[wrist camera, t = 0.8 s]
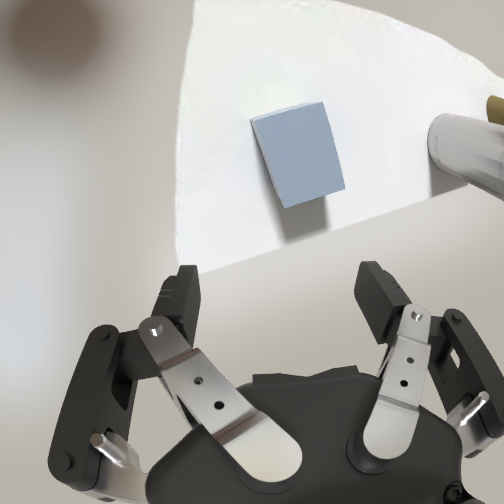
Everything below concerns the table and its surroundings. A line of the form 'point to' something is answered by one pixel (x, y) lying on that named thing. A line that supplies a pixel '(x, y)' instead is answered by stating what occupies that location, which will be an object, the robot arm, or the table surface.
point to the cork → (495, 110)
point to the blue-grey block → (299, 152)
